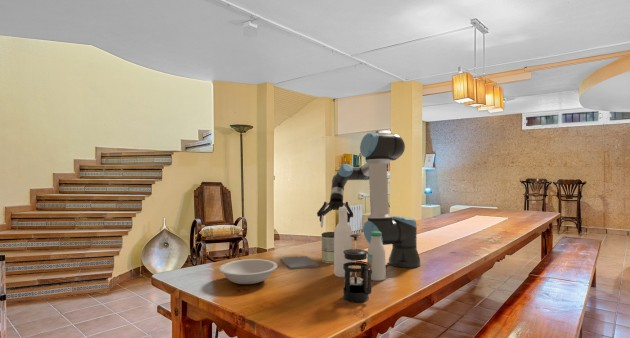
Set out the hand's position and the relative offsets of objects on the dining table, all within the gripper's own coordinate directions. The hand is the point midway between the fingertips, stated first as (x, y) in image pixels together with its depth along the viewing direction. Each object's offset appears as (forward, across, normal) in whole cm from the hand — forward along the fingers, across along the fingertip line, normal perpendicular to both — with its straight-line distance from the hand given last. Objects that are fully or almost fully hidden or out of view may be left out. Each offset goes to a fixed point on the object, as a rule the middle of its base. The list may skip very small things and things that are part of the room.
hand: (333, 226), depth 192 cm
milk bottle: (+37, -23, +14) cm, 46 cm away
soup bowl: (+47, +30, +24) cm, 60 cm away
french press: (+55, -16, +32) cm, 66 cm away
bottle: (+35, -8, +12) cm, 38 cm away
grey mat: (+24, +16, +1) cm, 28 cm away
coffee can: (+19, 0, -4) cm, 19 cm away
